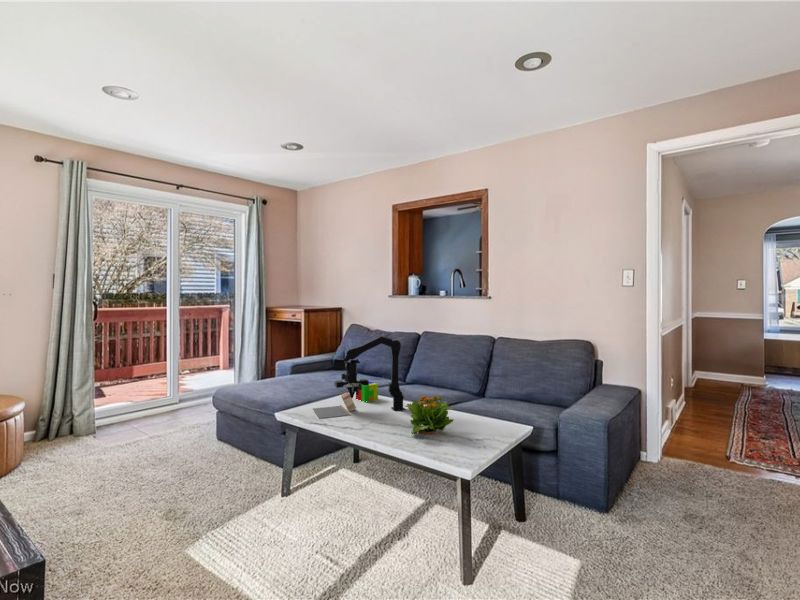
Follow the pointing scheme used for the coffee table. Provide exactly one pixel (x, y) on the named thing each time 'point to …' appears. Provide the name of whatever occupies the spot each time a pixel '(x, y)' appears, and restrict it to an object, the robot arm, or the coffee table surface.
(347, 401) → the maple block
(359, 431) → the coffee table surface
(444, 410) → the potted flower
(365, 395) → the puzzle toy
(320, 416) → the mat
